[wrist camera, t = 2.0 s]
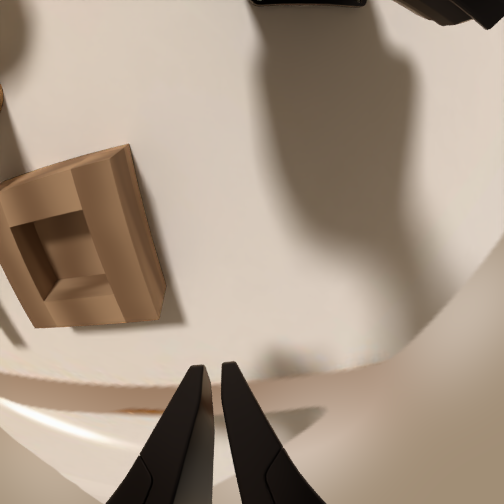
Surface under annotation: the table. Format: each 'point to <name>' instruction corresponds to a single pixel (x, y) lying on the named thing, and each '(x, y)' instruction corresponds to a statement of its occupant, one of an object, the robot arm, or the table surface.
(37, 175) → the socket block
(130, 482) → the robot arm
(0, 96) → the dowel
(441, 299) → the table surface
